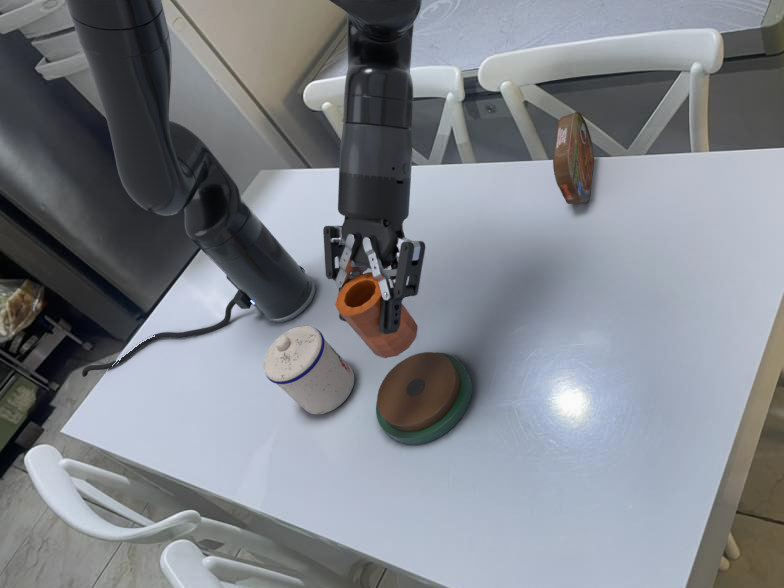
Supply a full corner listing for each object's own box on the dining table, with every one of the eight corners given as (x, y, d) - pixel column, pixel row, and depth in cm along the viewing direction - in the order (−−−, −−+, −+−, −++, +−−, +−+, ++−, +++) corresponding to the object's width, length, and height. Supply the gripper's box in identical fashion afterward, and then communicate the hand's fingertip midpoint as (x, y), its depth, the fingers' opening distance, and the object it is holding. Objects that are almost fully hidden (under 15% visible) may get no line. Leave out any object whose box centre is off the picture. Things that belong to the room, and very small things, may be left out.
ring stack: (366, 440, 90) (354, 428, 88) (402, 357, 97) (391, 344, 95) (453, 449, 84) (442, 436, 82) (484, 360, 91) (475, 346, 88)
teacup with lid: (368, 370, 98) (322, 318, 89) (332, 424, 95) (281, 376, 86) (312, 353, 105) (264, 304, 96) (277, 403, 101) (224, 357, 93)
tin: (588, 213, 99) (570, 168, 93) (566, 217, 100) (548, 172, 94) (595, 144, 107) (580, 98, 101) (575, 149, 108) (559, 103, 102)
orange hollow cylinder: (362, 350, 83) (326, 308, 77) (391, 312, 85) (357, 268, 79) (398, 363, 79) (362, 320, 74) (426, 322, 82) (394, 277, 76)
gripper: (303, 164, 75) (300, 317, 80) (397, 175, 67) (388, 345, 71) (357, 168, 81) (351, 310, 86) (449, 179, 73) (438, 336, 77)
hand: (368, 325), depth 79 cm, fingers closed on orange hollow cylinder, 6 cm apart
